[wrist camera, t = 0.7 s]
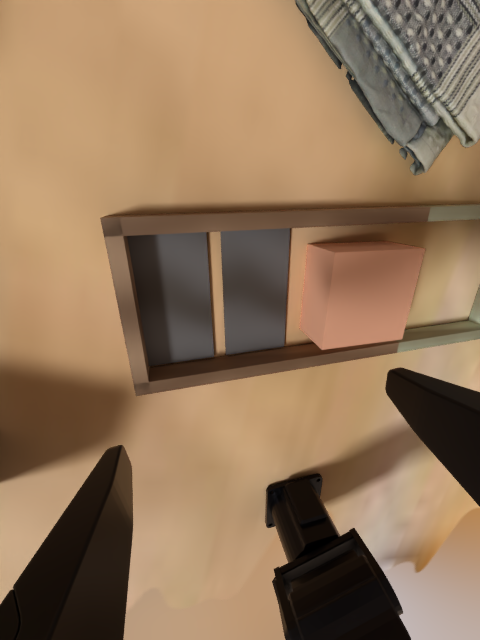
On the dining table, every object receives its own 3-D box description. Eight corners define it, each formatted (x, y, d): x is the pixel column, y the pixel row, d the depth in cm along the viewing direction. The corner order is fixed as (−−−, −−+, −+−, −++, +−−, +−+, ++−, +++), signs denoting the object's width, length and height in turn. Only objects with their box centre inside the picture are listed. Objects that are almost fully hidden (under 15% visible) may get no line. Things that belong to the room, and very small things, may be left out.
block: (369, 319, 26) (402, 339, 22) (298, 327, 24) (321, 349, 21) (384, 240, 23) (425, 248, 20) (306, 243, 22) (334, 252, 18)
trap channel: (480, 327, 30) (524, 344, 26) (138, 380, 22) (133, 415, 19) (524, 202, 25) (585, 203, 21) (106, 215, 17) (92, 220, 14)
